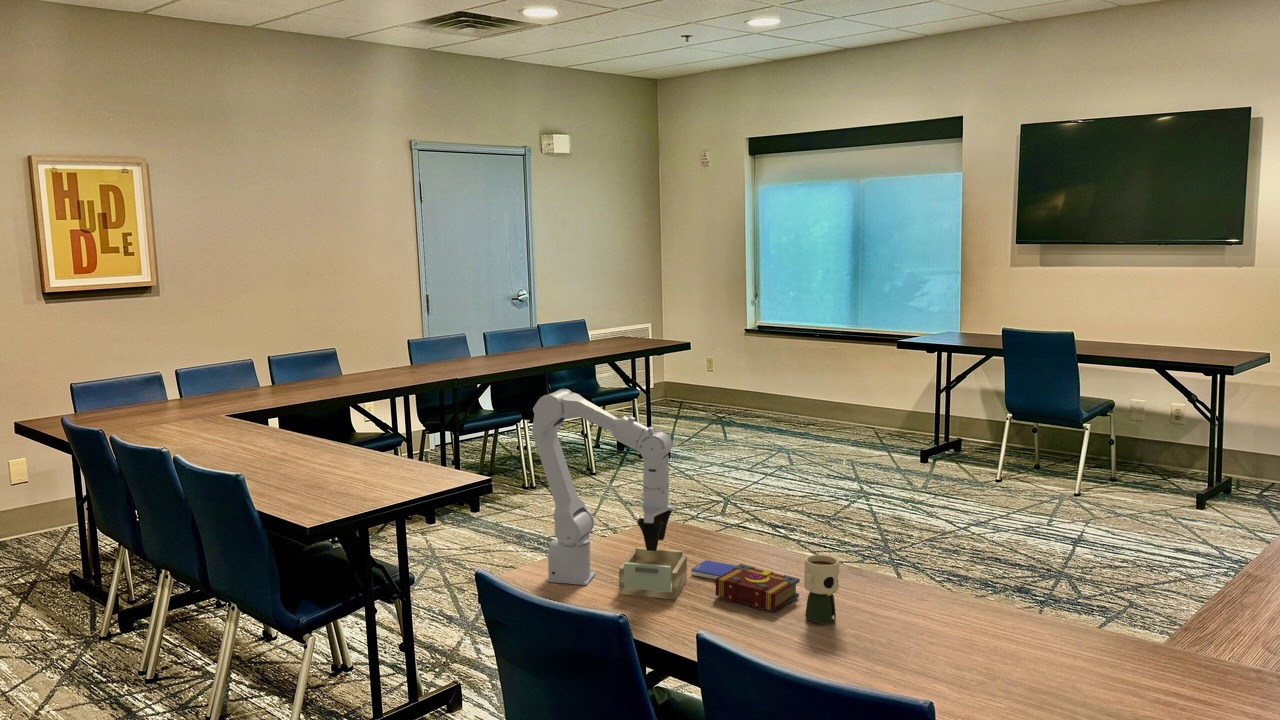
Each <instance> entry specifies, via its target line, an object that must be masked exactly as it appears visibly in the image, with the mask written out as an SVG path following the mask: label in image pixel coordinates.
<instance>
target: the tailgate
mask: <svg viewBox="0 0 1280 720" xmlns="http://www.w3.org/2000/svg"><path fill="white" fill-rule="evenodd" d="M624 588H631V589H642V590H654V591H665V592H670V591H671V566H666V565H654V564H642V563H630V562H625V563H624Z"/></svg>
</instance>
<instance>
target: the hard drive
mask: <svg viewBox="0 0 1280 720" xmlns="http://www.w3.org/2000/svg"><path fill="white" fill-rule="evenodd" d="M736 566H737V565H734V564H731V563H730V564H729V563H724V562H719V561H714V560H708V559H705V560H704V561H702V562H700V563H699V564H697V565H696V566H694V567H693V568H691V569H690V575H691V576H695V577H696V576H697V577H701V578H707V579H711V580H716V578H718V577H720V576H721V575H723V574H725V573H727V572H729V571H731V570H732V568H734V567H736Z"/></svg>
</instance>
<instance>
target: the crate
mask: <svg viewBox="0 0 1280 720" xmlns="http://www.w3.org/2000/svg"><path fill="white" fill-rule="evenodd" d="M634 549H635V550H632V551H631V552H630V553H629V554H628V556H627V557H626V558H625V560H624V561H623V563H622V564H621V565H620V566H619V568H618V592H619V593H618V594H619V595H624V596H625V595H627V596H635V597H636V596H637V597H647V598H656V599H657V598H659V599H668V600H669V599H670V600H677V599H678V597H679V595H680V594H681V591H682V589H683V588H684V586H685V584H686V582H687V580H688V576H687V575H688V573H687V572H688V564H687V563H688V554H683V552H684V551H683V550H678V549H668V548H667V549H664V548H657V550H656V551H647V549H646V547H642V546H641V547H638V546H636V547H635V548H634ZM625 562H630V563H642V564H654V565H666V566H671V591H670V592H665V591H654V590H642V589H631V588H624V563H625Z"/></svg>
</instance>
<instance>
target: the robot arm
mask: <svg viewBox="0 0 1280 720" xmlns="http://www.w3.org/2000/svg"><path fill="white" fill-rule="evenodd" d="M532 411H533V414H534V415H533V421H532V428H531V434H532V438H533V441H534V444H535V446H536V449H537V453H538V456H539V458H540V462H541V464H542V468H543V472H544V473H545V476H546V480H547V483H548V486H549V488H550V489H549V490H550V492H551V495H552V498H553V501H554V504H555V506H554V507H555V508H554V512H553V520H554V535H555V538H556V539H553V540H551V542H550V544H549V547H548V550H547V551H548V553H547V558H548V559H547V561H548V562H547V563H548V564H547V565H548V567H547V568H548V569H547V572H548V575H547V576H548V578H547V582H548V583H559V584H568V585H569V584H570V585H581V586H586V585H588V584H589V583H590V581H591V580H593V578H594V577H595V576H596V573H597V572H596V571H593V570H591V536H590V533H591V531H592V530H593V529H594V525H595V520H594V517H593V515H592V513H591V512H590V511H589V510H588V508H587V506H586V504H585V503H586V502H584V501H583V500H582V499H580V497H578V494H577V491H576V489H575V486H574V482H573V479H572V477H571V473H570V470H569V466H568V464H567V463H568V462H567V461H566V457H565V455H564V451H563V448H562V445H561V442H560V440H559V436H558V432H559V430H560V428H561V426H562V424H563V423H564V421H566V420H570V419H577V418H580V419H583V420H585V421H588V422H589V423H592V424H594V425H595V426H598V427H600V428H603V429H605V430H608V431H609V432H610V433H611V435H612V438H613V439H614V440H615V441H617V442H619V443H621V444H623V445H625V446H626V447H629V448H631V449H633V450H634V451H637V452H639V454H640V455H641V457H642V459H643V465H642V466H643V467H642V468H643V469H642V473H643V475H642V476H643V477H642V504H641V509H642V512H643V517H642V518H641V517H639V518H638V520H637V525H638V527H639V528H640V531H641V533H642V536H643V538H644V539H643V540H644V546H645V548H646V549H647V551H656V550H657V549H658V545H659V541H664V539H665V535H666V531H667V526H668V522H669V519H670V516H671V514H672V512H673V511H674V509H675V506H674V505H673V504H669V500H670V499H669V498H670V496H669V490H670V489H669V488H670V485H669V483H670V478H669V477H670V465H669V463H670V462H669V461H670V460H669V457H670V455H669V453H670V451H671V450H672V448H673V440H672V438H671V437H670V435H669V434H668V433H667V432H665V430H662V429H657V430H654V428H653V427H652V426H649V427H647V426H646V425H643V424H641V423H640V422H638V421H636V417H633V415H632V416H625V415H624V416H621V417H617V416H615V415H613V414H611V413H610V412H608V411H606V410H605V409H603V408H602V407H599V406H598V405H596V404H595V403H592V402H590V401H589V400H587V399H585V398H584V397H583V396H581V395H580V394H579V393H576V392H572V391H571V390H569V389H567V388H560V389H558V390H556V391H554V392H550V393H549V394H544V395H543V396H540V398H538V400H537V402H536V403H535V405H534V406H533V408H532Z"/></svg>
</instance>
